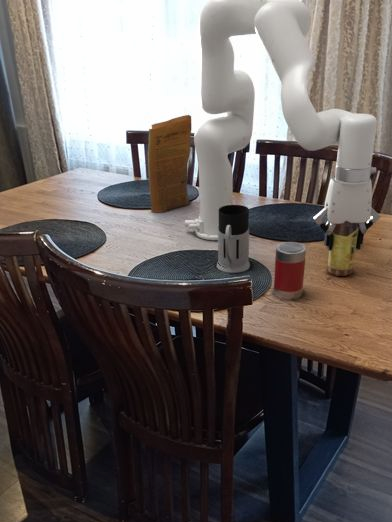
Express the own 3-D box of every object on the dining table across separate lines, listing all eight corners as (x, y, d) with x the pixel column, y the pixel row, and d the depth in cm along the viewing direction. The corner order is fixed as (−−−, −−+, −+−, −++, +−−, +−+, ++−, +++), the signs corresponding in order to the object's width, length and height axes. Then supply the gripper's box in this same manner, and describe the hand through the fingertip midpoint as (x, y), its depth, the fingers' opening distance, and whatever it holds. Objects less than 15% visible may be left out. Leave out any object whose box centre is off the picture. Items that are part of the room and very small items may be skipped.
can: (276, 300, 122) (278, 253, 116) (271, 287, 128) (273, 241, 121) (304, 299, 122) (309, 251, 116) (299, 286, 128) (302, 240, 122)
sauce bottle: (352, 278, 131) (364, 198, 119) (326, 276, 132) (336, 197, 121) (351, 266, 136) (362, 189, 125) (326, 265, 137) (335, 188, 126)
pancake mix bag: (200, 202, 182) (198, 114, 166) (156, 216, 172) (149, 124, 156) (187, 198, 186) (184, 112, 170) (143, 211, 176) (136, 121, 160)
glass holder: (252, 259, 141) (253, 204, 133) (244, 283, 130) (245, 224, 122) (220, 257, 143) (219, 203, 135) (209, 281, 132) (208, 223, 123)
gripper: (384, 167, 123) (372, 240, 133) (310, 170, 123) (304, 243, 133) (396, 176, 117) (382, 252, 127) (318, 180, 117) (311, 255, 127)
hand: (342, 247), depth 130 cm, fingers closed on sauce bottle, 6 cm apart
